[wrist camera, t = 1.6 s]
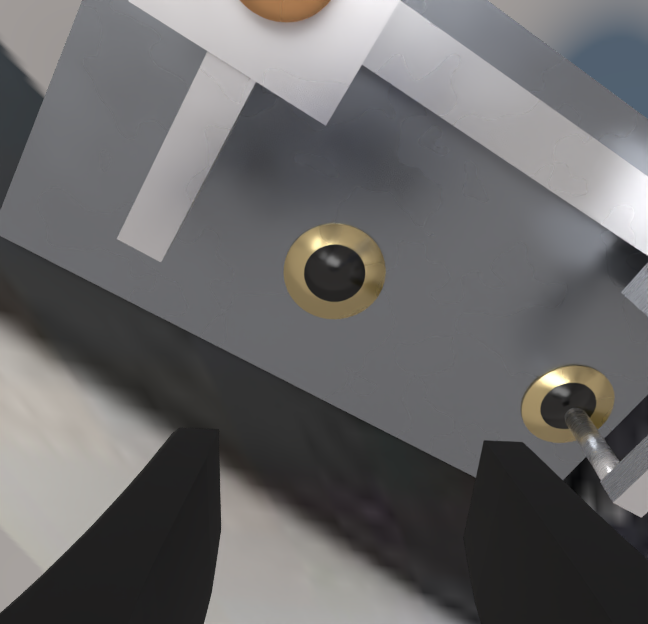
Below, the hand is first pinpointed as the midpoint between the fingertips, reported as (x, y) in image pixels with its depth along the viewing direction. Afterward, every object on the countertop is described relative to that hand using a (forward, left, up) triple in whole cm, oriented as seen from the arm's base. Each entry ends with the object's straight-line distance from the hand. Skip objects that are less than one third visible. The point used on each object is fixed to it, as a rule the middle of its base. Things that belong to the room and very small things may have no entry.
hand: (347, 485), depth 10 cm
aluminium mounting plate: (-1, -2, -10) cm, 10 cm away
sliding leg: (+5, -4, -9) cm, 11 cm away
